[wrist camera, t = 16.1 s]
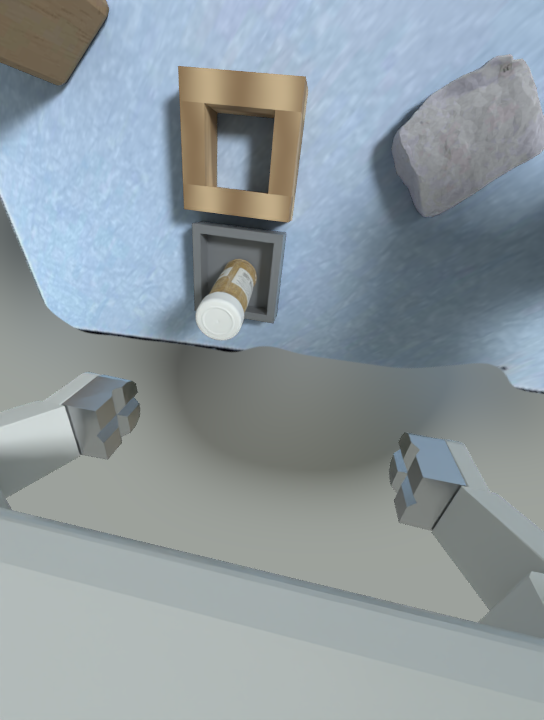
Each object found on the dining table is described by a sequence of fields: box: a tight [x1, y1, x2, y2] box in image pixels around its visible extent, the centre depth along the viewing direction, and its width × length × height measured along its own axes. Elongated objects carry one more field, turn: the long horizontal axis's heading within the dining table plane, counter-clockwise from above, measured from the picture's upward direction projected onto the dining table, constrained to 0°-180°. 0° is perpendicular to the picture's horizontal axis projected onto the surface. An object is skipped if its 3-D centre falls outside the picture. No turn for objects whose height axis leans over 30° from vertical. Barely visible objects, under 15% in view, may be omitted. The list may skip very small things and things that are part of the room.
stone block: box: [391, 54, 544, 217], centre depth 29 cm, size 12×5×10 cm
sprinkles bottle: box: [196, 259, 257, 340], centre depth 34 cm, size 5×5×14 cm
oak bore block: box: [178, 66, 308, 222], centre depth 32 cm, size 12×12×4 cm
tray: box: [192, 221, 286, 323], centre depth 39 cm, size 11×11×3 cm
